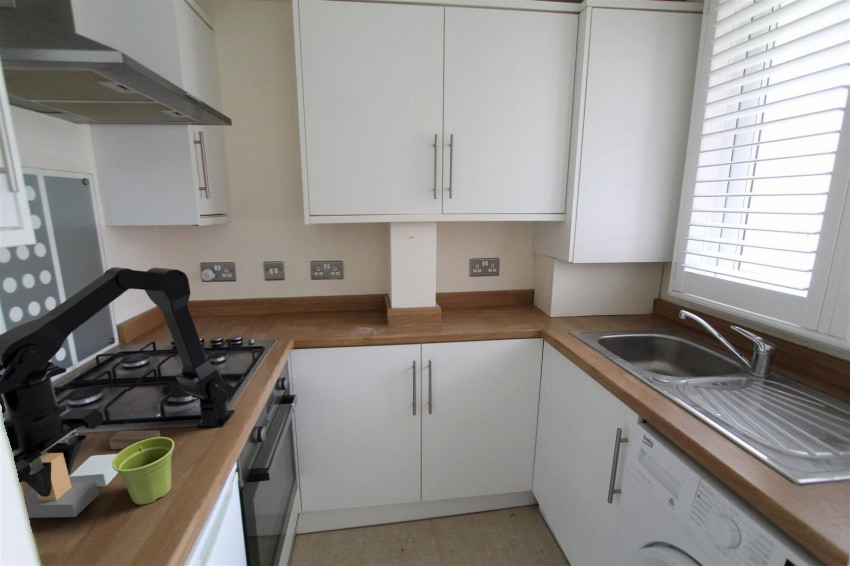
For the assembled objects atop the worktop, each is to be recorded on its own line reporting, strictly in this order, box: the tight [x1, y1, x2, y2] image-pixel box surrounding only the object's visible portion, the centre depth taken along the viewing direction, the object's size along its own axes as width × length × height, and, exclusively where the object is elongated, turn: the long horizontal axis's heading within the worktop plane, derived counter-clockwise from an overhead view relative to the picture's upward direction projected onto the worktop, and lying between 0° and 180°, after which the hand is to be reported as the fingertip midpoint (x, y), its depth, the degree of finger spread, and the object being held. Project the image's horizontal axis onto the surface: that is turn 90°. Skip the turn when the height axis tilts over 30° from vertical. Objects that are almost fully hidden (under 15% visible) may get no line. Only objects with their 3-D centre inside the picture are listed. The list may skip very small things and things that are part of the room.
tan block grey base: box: [23, 452, 100, 519], centre depth 67 cm, size 5×10×10 cm, turn 91°
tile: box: [69, 453, 119, 488], centre depth 77 cm, size 6×6×3 cm
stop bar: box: [108, 430, 161, 450], centre depth 87 cm, size 3×9×2 cm, turn 91°
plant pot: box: [112, 436, 175, 505], centre depth 72 cm, size 9×9×9 cm
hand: (54, 488), depth 68 cm, fingers closed on tan block grey base, 3 cm apart
